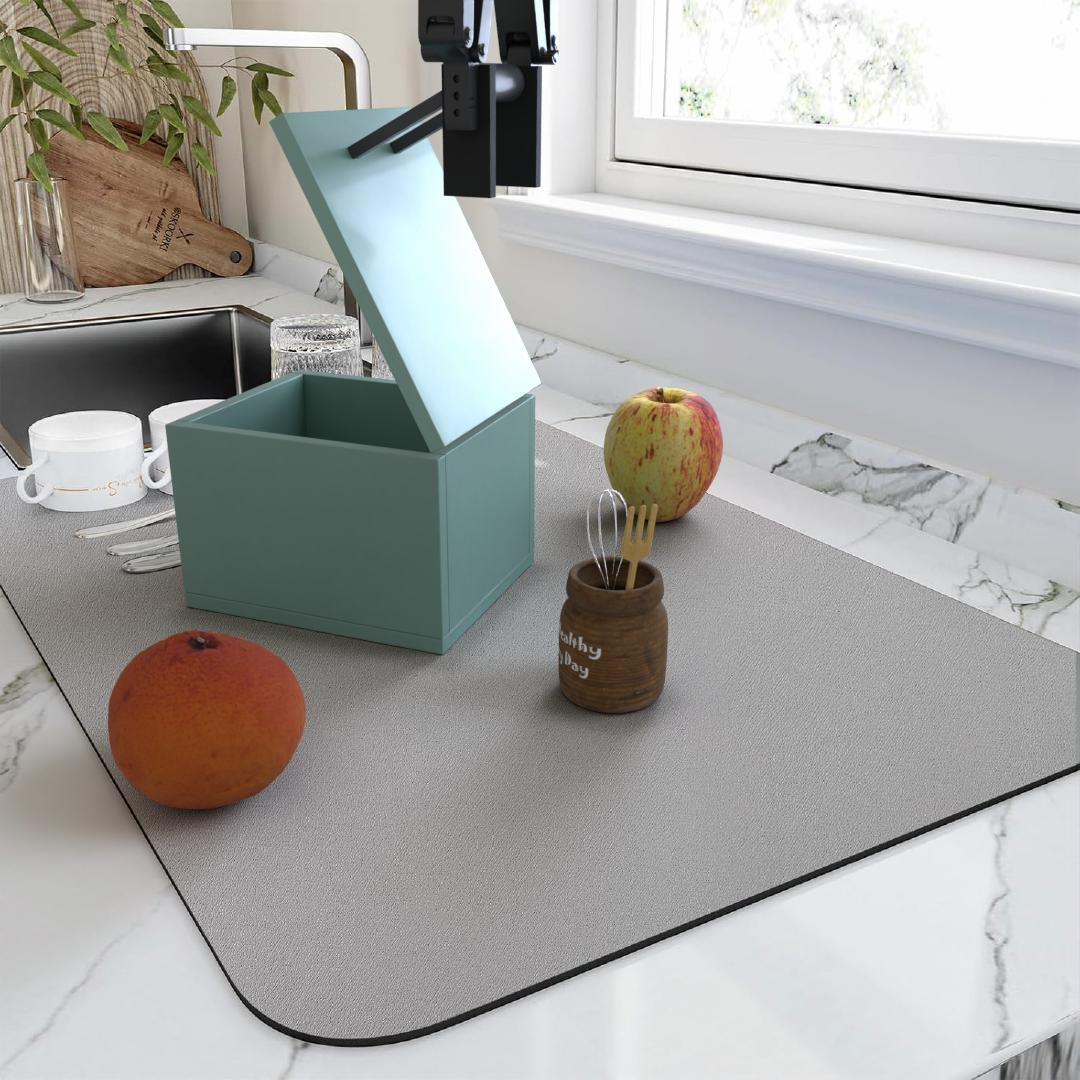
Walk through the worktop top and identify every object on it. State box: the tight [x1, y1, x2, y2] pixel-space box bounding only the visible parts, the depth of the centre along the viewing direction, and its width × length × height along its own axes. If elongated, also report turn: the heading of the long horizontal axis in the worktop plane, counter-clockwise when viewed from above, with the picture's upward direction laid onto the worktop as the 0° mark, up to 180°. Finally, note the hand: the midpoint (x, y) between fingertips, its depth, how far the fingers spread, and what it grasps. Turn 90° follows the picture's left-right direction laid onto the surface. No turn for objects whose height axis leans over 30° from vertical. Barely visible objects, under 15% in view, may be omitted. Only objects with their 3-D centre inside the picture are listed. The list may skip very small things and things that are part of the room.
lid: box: [268, 62, 542, 453], centre depth 66 cm, size 19×15×10 cm
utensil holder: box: [557, 489, 669, 714], centre depth 62 cm, size 6×6×12 cm
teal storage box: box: [164, 369, 536, 655], centre depth 75 cm, size 18×15×12 cm
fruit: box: [107, 629, 306, 810], centre depth 54 cm, size 9×9×8 cm
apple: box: [603, 386, 724, 523], centre depth 88 cm, size 9×9×10 cm
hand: (494, 190), depth 64 cm, fingers closed on lid, 6 cm apart
